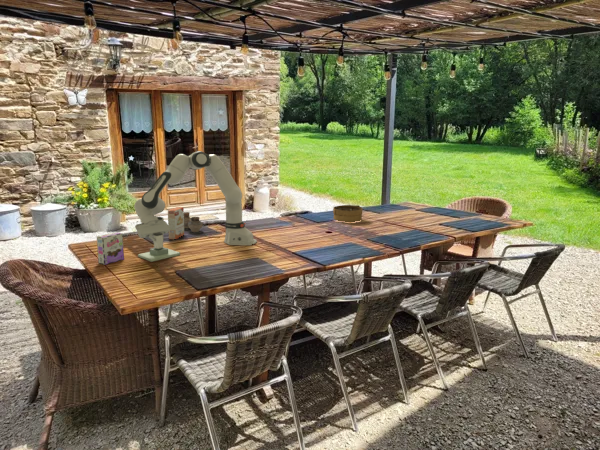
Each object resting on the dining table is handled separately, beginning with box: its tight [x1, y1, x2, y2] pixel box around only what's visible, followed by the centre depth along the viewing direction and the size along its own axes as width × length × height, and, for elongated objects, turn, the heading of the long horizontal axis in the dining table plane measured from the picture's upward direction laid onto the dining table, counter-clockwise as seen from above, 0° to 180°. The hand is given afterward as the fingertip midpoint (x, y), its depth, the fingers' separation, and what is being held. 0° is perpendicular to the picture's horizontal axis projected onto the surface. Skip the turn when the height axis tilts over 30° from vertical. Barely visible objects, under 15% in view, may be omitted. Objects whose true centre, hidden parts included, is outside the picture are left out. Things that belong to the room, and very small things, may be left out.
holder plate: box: [137, 246, 181, 263], centre depth 289 cm, size 20×15×4 cm
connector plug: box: [152, 232, 164, 249], centre depth 288 cm, size 4×4×9 cm
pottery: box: [184, 211, 204, 233], centre depth 358 cm, size 11×25×12 cm, turn 40°
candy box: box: [96, 231, 125, 266], centre depth 276 cm, size 14×6×16 cm, turn 148°
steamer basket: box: [332, 204, 363, 222], centre depth 398 cm, size 25×25×11 cm
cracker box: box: [167, 206, 185, 240], centre depth 333 cm, size 14×6×21 cm, turn 168°
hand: (158, 240), depth 287 cm, fingers closed on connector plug, 4 cm apart
